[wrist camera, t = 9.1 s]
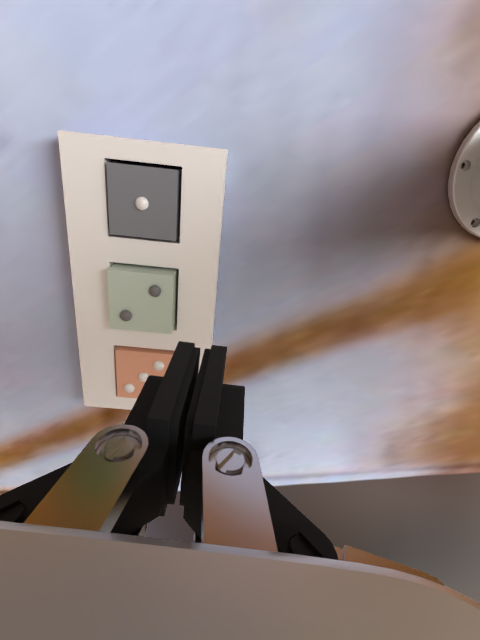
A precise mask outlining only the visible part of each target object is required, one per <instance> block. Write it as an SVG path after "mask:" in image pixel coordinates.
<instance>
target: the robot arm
mask: <svg viewBox="0 0 480 640" xmlns="http://www.w3.org/2000/svg"><path fill="white" fill-rule="evenodd" d="M461 164H463V165H462V167H461ZM448 198H449V203H450V208H451V210H452V212H453V215H454V217H455V218H456V220H457V221H458V222H459V224H460V225H461V226H462V227H463V228H464V229H465V230H467V231H468V232H469V233H471V234H473V235H475V236H477V237H479V238H480V121H479V122H478V123H477V124H476V125H475V126H474V127H473V128H472V130H471V131H470V132H469V134H468V135H467V136H466V137H465V139H464V140H463V142H462V144H461V146H460V147H459V149H458V151H457V153H456V155H455V158H454V161H453V163H452V166H451V169H450V175H449V180H448ZM226 352H227V347H223V346H215V345H212V346H211V349H206V348H205V350H204V354H203V358H202V362H201V365H200V369H199V360H200V348H198V347H195V343H191V342H183V341H179V342H178V344H177V346H176V349H175V351H174V353H173V356H172V358H171V361H170V363H169V365H168V368H167V370H166V372H165V375H164V377H162V376H154V375H150V376H148V378H147V380H146V382H145V384H144V386H143V388H142V390H141V392H140V394H139V396H138V398H137V400H136V402H135V404H134V406H133V408H132V410H131V412H130V414H129V416H128V418H127V420H126V422H125V424H123V425H114V426H111V427H108V428H106V429H104V430H102V431H100V432H99V433H97V434H96V435H95V436H94V437H93V438H92V439H91V441H90V442H89V443H88V444H87V446H86V447H85V448H84V449H83V450H82V452H81V453H80V454H79V455H78V457H77V458H76V459H75V460H74V461H73V462H72V463H70V464H68V465H66V466H64V467H61V468H59V469H57V470H55V471H53V472H50V473H48V474H46V475H44V476H42V477H39V478H37V479H35V480H33V481H31V482H28V483H26V484H24V485H22V486H20V487H17V488H15V489H13V490H11V491H9V492H6V493H4V494H2V495H0V640H480V603H478V602H476V601H475V600H473V599H471V598H469V597H467V596H465V595H463V594H461V593H458V592H456V591H455V590H452V589H451V588H449V587H447V586H445V585H444V584H442V583H441V582H440V581H439V580H438V579H437V578H435V577H433V576H431V575H429V574H427V573H425V572H422V571H419V570H416V569H414V568H411V567H408V566H405V565H402V564H399V563H396V562H393V561H390V560H388V559H384V558H382V557H379V556H376V555H373V554H370V553H367V552H364V551H362V550H358V549H356V548H353V547H350V546H347V545H345V546H344V549H341V548H338V547H335V546H333V544H332V543H331V542H330V540H329V539H328V538H327V537H326V535H325V534H324V533H323V532H321V531H320V530H319V529H318V528H317V527H316V526H315V525H314V524H313V523H312V522H311V521H309V520H308V519H307V518H306V517H305V516H304V515H303V514H302V513H301V512H300V511H299V510H297V508H296V507H294V506H293V505H292V504H291V503H290V502H289V501H288V500H287V499H286V498H285V497H284V496H283V495H282V494H280V493H279V492H278V491H277V490H276V489H275V488H274V487H273V486H272V485H271V484H270V483H269V482H268V481H266V480H265V479H264V478H263V477H262V472H261V468H260V463H259V458H258V455H257V453H256V450H255V449H254V448H253V447H252V446H251V445H250V444H249V443H247V442H246V441H244V440H243V423H244V396H245V387H244V386H236V385H228V384H223V377H224V369H225V360H226ZM198 372H199V373H198ZM181 473H182V478H181V492H180V505H183V506H184V517H183V518H184V519H185V521H186V522H187V523H188V524H189V526H190V527H191V528H192V530H193V531H194V532H195V533H194V542H187V541H179V540H170V539H161V538H152V537H144V536H145V533H146V530H147V523H149V522H150V521H152V520H153V519H155V518H156V517H158V516H164V515H165V511H166V507H167V504H174V503H175V499H176V494H177V490H178V486H179V482H180V477H181Z"/></svg>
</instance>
